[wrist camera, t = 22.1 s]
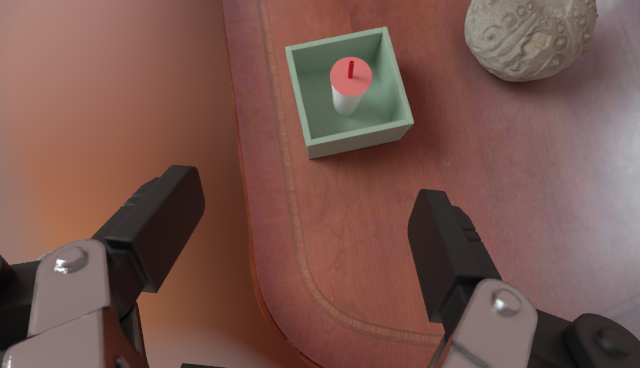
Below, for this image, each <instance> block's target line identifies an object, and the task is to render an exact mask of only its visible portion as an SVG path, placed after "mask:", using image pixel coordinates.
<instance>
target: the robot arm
mask: <svg viewBox="0 0 640 368" xmlns="http://www.w3.org/2000/svg"><path fill="white" fill-rule="evenodd" d="M204 209H205V199H204V195H203V190H202V186H201V181H200V177H199V173H198V170H197V168H196V167H192V166H181V165H172V166H170V167H169V168H168V169H167V170H166V172H165V173H164V174H163V175H162V176H161V177H160V178H159V177H156V178H154V179H152V180H151V181H149V182H147V183H145V184H144V185H142V186H141V187H140V188H139V189H138V190H137V192H135V193H134V194H133V196H132V198H130V199H128V201H127V202H126V203H125V204H124V206H122V207H121V208H120V209H119V210H118V211H117V212H116V213H115V214H114V215H113V216H112V217H111V218H110V219H109V220H108V221H107V222H106V223H105V224H104V225H103V226H102V227H101V228H100V229H99V230H98V231H97V232H96V233H95V234H94V235H93V237H92V238H91V239H83V240H77V241H73V242H71V243H68V244H65V245H63V246H61V247H59V248H57V249H56V250H54V251H52V252H51V253H50V254H48V255H47V256H46V257H45V258H44V259H43V260H41V261H34V262H27V263H21V264H14V265H9V264H8V263H7V262H6V261H5V260H4V258H2V256H1V255H0V368H149V365H148V362H147V358H146V353H145V346H144V340H143V334H142V328H141V322H140V315H139V309H138V304H137V302H136V300H137V298H138V296H139V295H140V293H141V292H149V293H157V292H158V290H159V288H160V287H161V285H162V283H163V282H164V280H165V278H166V277H167V275H168V273H169V271H170V270H171V268H172V266H173V265H174V263H175V261H176V260H177V258H178V256H179V255H180V253H181V251H182V250H183V248H184V246H185V244H186V243H187V241H188V239H189V238H190V236H191V234H192V233H193V230H194V229H195V228H196V226H197V224H198V223H199V221H200V219H201V218H202V216H203V213H204ZM475 230H476V229H475V227H474V225H473V223H472V221H471V220H470V218H469V217H468V216H467V215H466V214H465V213H464V212H463V211H462V210H461V209H460V208H459V207H456V206H452V205H451V203H450V201H449V199H448V197H447V195H446V193H445V192H444V191H438V190H428V189H421V190H420V191H419V193H418V196H417V199H416V202H415V204H414V207H413V210H412V213H411V216H410V219H409V222H408V239H409V243H410V247H411V251H412V255H413V259H414V263H415V267H416V271H417V275H418V279H419V283H420V287H421V291H422V294H423V298H424V302H425V306H426V310H427V314H428V318H429V322H434V323H443V326H444V330H445V334H444V335H443V337H442V339H441V341H440V343H439V345H438V347H437V349H436V351H435V352H434V354H433V356H432V358H431V360H430V362H429V364H428V366H427V368H640V341H639V340H638V339H637V338H636V337H635V336H634V335H633V334H632V333H631V332H629V331H628V330H627V329H625V328H624V327H622V326H621V325H619V324H618V323H616V322H614V321H612V320H610V319H608V318H606V317H603V316H601V315H597V314H591V313H586V314H582V315H580V316H579V317H578V318H577V319H575V320H574V321H573V322H570V321H567V320H565V319H562V318H559V317H557V316H554V315H551V314H548V313H546V312H543V311H540V310H538V309H535V307H534V305H533V304H532V302H531V301H530V300H529V298H528V297H527V296H526V295H525V294H524V293H523V292H521V291H520V290H519V289H518V288H516V287H514V286H513V285H511V284H509V283H507V282H504V281H503V280H502V278H501V276H500V275H499V273H498V271H497V269H496V267H495V265H494V263H493V261H492V259H491V257H490V256H489V254H488V252H487V250H486V248H485V246H484V244H483V242H481V239H480V237H479V235H478V233H477V232H476V231H475ZM181 368H224V367H214V366H204V365H194V364H185V363H183V364H182V366H181Z"/></svg>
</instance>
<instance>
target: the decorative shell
mask: <svg viewBox="0 0 640 368" xmlns="http://www.w3.org/2000/svg"><path fill="white" fill-rule="evenodd" d="M597 18H598V14H597V10H596V0H472V2H471V4H470V6H469V8H468V12H467V15H466V20H465V24H464V28H465V39H466V44H467V46H468V47H469V48H470V50H471V53H472V54H473V55H474V56H475V57H476V58H477V59H478V62H479V63H480V64H481V66H483V68H484V69H486V70H487V71H489V72H490V73H491V74H494V75H495V76H496V77H498V78H499V79H502V80H505V81H512V82H513V81H518V82H524V81H531V80H538V79H543V78H547V77H551V76H553V75H555V74H557V73H558V72H561V71H563V70H564V69H566V68H567V67H569V66H570V65H571V64H572V63H574V62H575V61H576V59H577V57H579V56H581V55H582V54H584V53H585V52H586V51H587V49H586V45H587V43H588V42H589V41H590V39H591V36H592V33H593V29H594V26H595V23H596V19H597Z"/></svg>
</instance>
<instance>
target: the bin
mask: <svg viewBox="0 0 640 368" xmlns="http://www.w3.org/2000/svg"><path fill="white" fill-rule="evenodd" d="M285 51H286V56H287V61H288V66H289V71H290V76H291V81H292V85H293V90H294V94H295V99H296V103H297V108H298V112H299V117H300V122H301V126H302V131H303V135H304V140H305V144H306V149H307V153H308V158H309V159H314V158H318V157H323V156H328V155H332V154H337V153H342V152H346V151H351V150H355V149H360V148H365V147H369V146H374V145H379V144H383V143H388V142H392V141H397V140H400V138H401V137H402V136H403V135H404V134H405V133H406V132H407V131H408V130H409V128H410V127H411V126H412V125H413V124H414V120H413V117H412V113H411V110H410V106H409V103H408V99H407V96H406V92H405V89H404V85H403V82H402V78H401V75H400V71H399V68H398V64H397V61H396V57H395V54H394V50H393V47H392V43H391V40H390V36H389V33H388V29H387V27H382V28H376V29H372V30H367V31H362V32H357V33H352V34H347V35H342V36H337V37H332V38H327V39H322V40H317V41H312V42H307V43H302V44H297V45H292V46H287V47H285ZM345 57H356V58H359V59H362V60H363V61H365V62H366V63H367V64H368V66H369V67H370V69H371V71H372V82H371V85H370V87H369V88H368V89H367V90H366V92H365V93H364V95H363V97H362V99H361V100H360V102H359V104H358V105H357V107H356V109H355V110H354V112H353V113H352V114H351V115H348V116H341V115H339V114H338V113H337V112H336V111H335V109H334V103H333V93H332V83H331V80H330V72H331V69H332V67H333V65H334V64H335V63H336V62H337V61H339V60H340V59H342V58H345Z"/></svg>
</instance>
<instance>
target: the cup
mask: <svg viewBox="0 0 640 368" xmlns="http://www.w3.org/2000/svg"><path fill="white" fill-rule="evenodd" d="M330 80H331V83H332V93H333V103H334V109H335V111H336V112H337V113H338V114H339V115H341V116H348V115H351V114H352V113H353V112H354V110H355V109H356V107H357V105H358V104H359V102H360V100H361V99H362V97H363V95H364V93H365V92H366V90H367V89H368V88H369V87H370V85H371V82H372V71H371V69H370V67H369V66H368V64H367V63H366V62H365V61H363V60H362V59H359V58H356V57H345V58H342V59H340V60H339V61H337V62H336V63H335V64H334V65H333V67H332V69H331V72H330Z"/></svg>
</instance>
